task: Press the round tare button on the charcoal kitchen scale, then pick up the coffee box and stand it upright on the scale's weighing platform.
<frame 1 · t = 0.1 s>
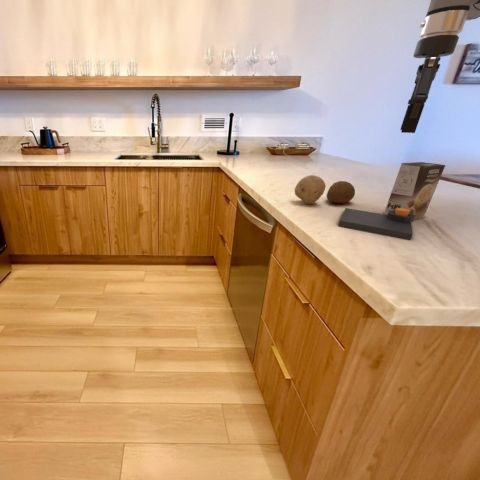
hand: (406, 131, 78), 25 cm above the counter, tool pointing down, fingers open, 13 cm apart
tan rounded lump: (306, 204, 100), on the counter
tare button: (402, 212, 80), point 4 cm above the counter, slide at 0.1 cm
coffee box: (402, 217, 88), on the counter
scale: (373, 225, 81), on the counter
potato: (338, 203, 101), on the counter
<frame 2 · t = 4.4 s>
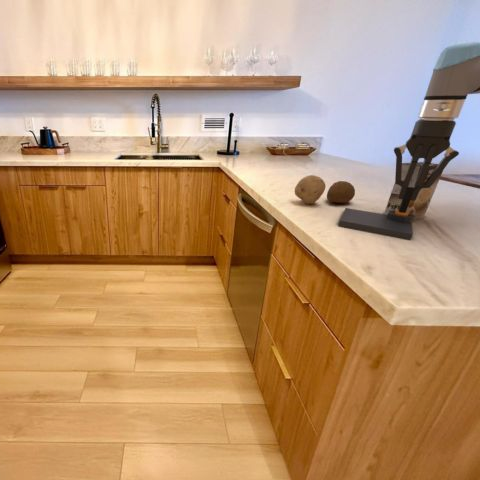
hand: (402, 210, 80), 4 cm above the counter, tool pointing down, fingers closed
tare button: (401, 214, 80), point 3 cm above the counter, slide at -0.5 cm, touching gripper
everything else where it was.
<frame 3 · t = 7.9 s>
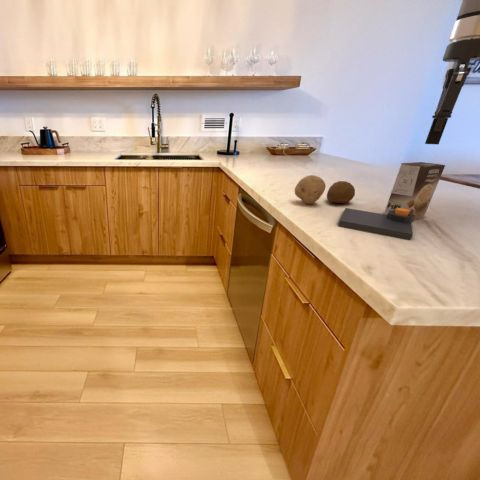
hand: (431, 143, 78), 22 cm above the counter, tool pointing down, fingers closed
tare button: (402, 212, 80), point 4 cm above the counter, slide at 0.1 cm
everything else where it was.
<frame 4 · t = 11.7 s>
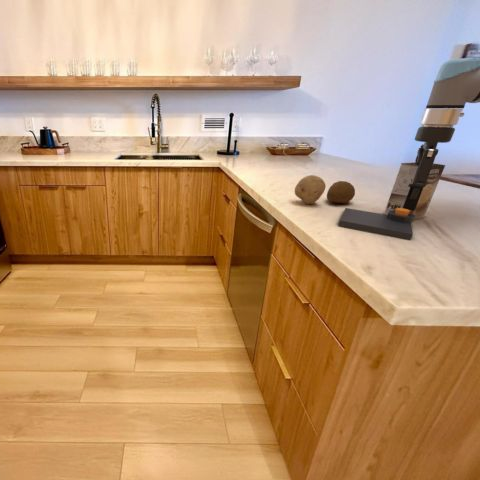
hand: (407, 204, 86), 4 cm above the counter, tool pointing down, fingers closed on coffee box, 10 cm apart
coffee box: (402, 217, 88), on the counter, touching gripper
everything else where it was.
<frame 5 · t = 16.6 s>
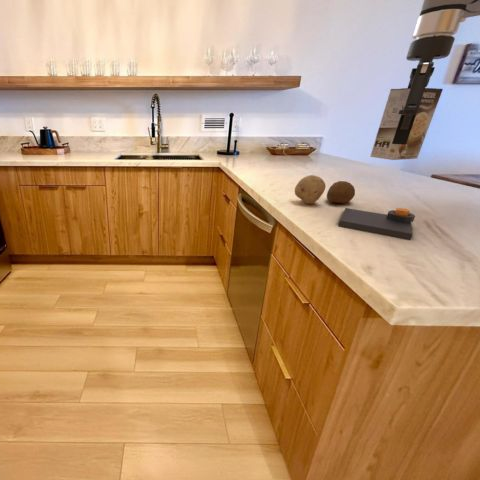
hand: (398, 142, 73), 23 cm above the counter, tool pointing down, fingers closed on coffee box, 10 cm apart
coffee box: (393, 158, 75), point 18 cm above the counter, touching gripper
everything else where it was.
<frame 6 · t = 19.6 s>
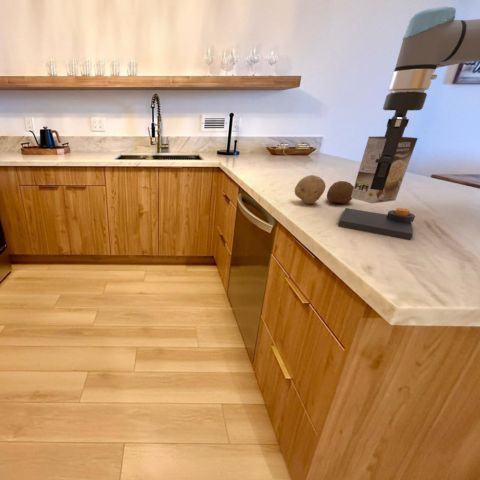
hand: (377, 185, 76), 12 cm above the counter, tool pointing down, fingers closed on coffee box, 10 cm apart
coffee box: (372, 200, 78), point 8 cm above the counter, touching gripper
everything else where it was.
when the fingers open (6 cm above the counter, at t = 21.9 s): coffee box stays where it is, resting on scale.
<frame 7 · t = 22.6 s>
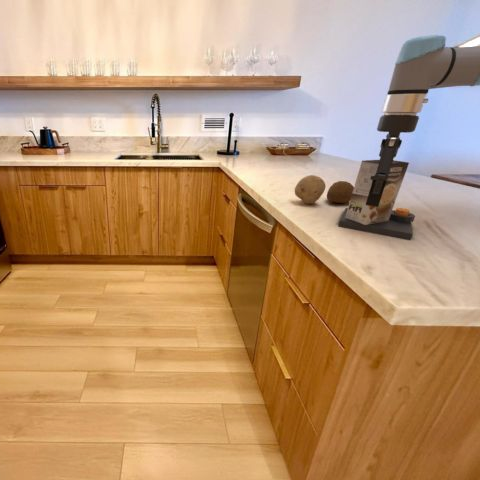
hand: (373, 199, 78), 8 cm above the counter, tool pointing down, fingers open, 13 cm apart
coffee box: (366, 220, 80), point 2 cm above the counter, touching scale
everything else where it was.
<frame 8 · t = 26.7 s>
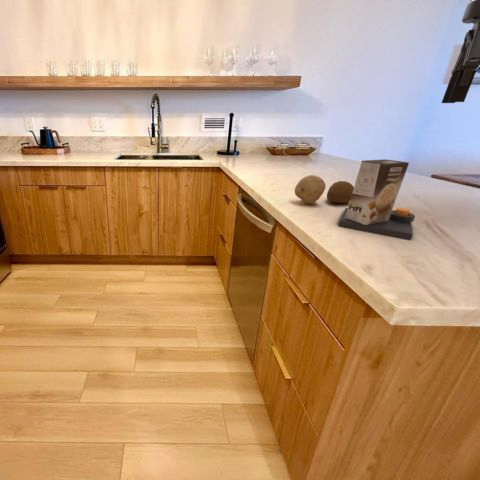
hand: (451, 102, 73), 32 cm above the counter, tool pointing down, fingers open, 13 cm apart
nothing on the counter moved.
at the end: tare button pushed in 0.8 cm at the most during the clip, back to where it started at the end; coffee box inside the target area on the scale (1.4 cm from its centre), point 1.7 cm above the scale's base; coffee box tilted 0° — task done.
